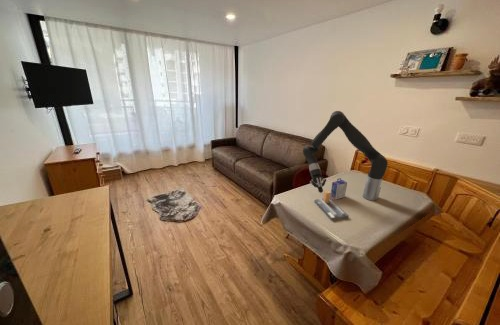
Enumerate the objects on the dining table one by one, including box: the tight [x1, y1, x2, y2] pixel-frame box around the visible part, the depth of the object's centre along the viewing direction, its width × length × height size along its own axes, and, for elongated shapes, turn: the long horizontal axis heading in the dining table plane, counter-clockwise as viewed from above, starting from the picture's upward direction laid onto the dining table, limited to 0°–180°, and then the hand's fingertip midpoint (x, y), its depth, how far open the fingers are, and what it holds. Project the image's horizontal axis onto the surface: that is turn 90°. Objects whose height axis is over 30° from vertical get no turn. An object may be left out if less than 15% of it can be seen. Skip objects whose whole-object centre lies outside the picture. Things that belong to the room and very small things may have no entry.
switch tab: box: [322, 190, 331, 203], centre depth 140 cm, size 3×3×8 cm
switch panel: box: [314, 197, 349, 221], centre depth 136 cm, size 12×21×4 cm, turn 12°
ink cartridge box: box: [330, 177, 348, 200], centre depth 149 cm, size 10×6×14 cm, turn 113°
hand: (321, 192), depth 146 cm, fingers closed
